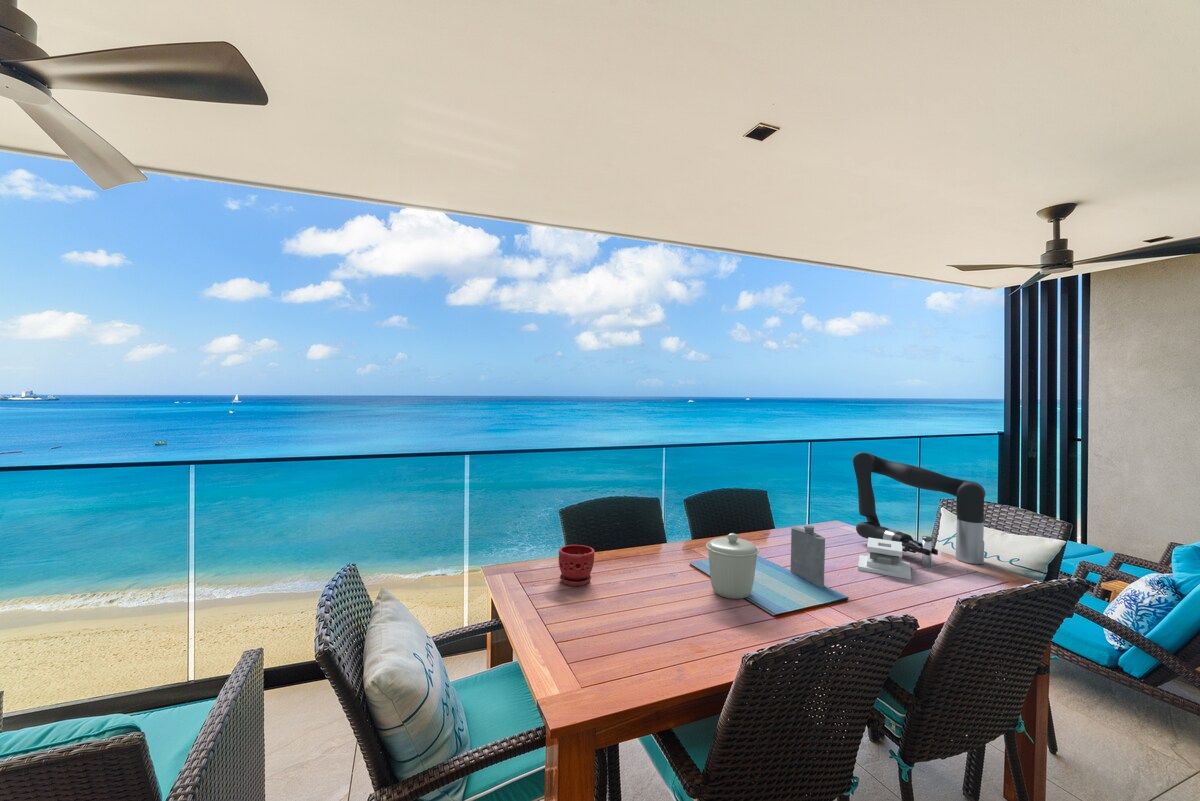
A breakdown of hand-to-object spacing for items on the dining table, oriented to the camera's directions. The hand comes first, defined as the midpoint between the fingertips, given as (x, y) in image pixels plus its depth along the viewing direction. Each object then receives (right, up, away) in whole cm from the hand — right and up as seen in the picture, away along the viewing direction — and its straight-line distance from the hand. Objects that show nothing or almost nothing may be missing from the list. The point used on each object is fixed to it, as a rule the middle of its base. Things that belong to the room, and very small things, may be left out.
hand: (933, 552), depth 198 cm
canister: (-88, -6, -26) cm, 92 cm away
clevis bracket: (-20, -6, 0) cm, 21 cm away
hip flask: (-56, -6, -11) cm, 57 cm away
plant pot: (-143, -6, -17) cm, 144 cm away
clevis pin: (-1, -6, +3) cm, 7 cm away
